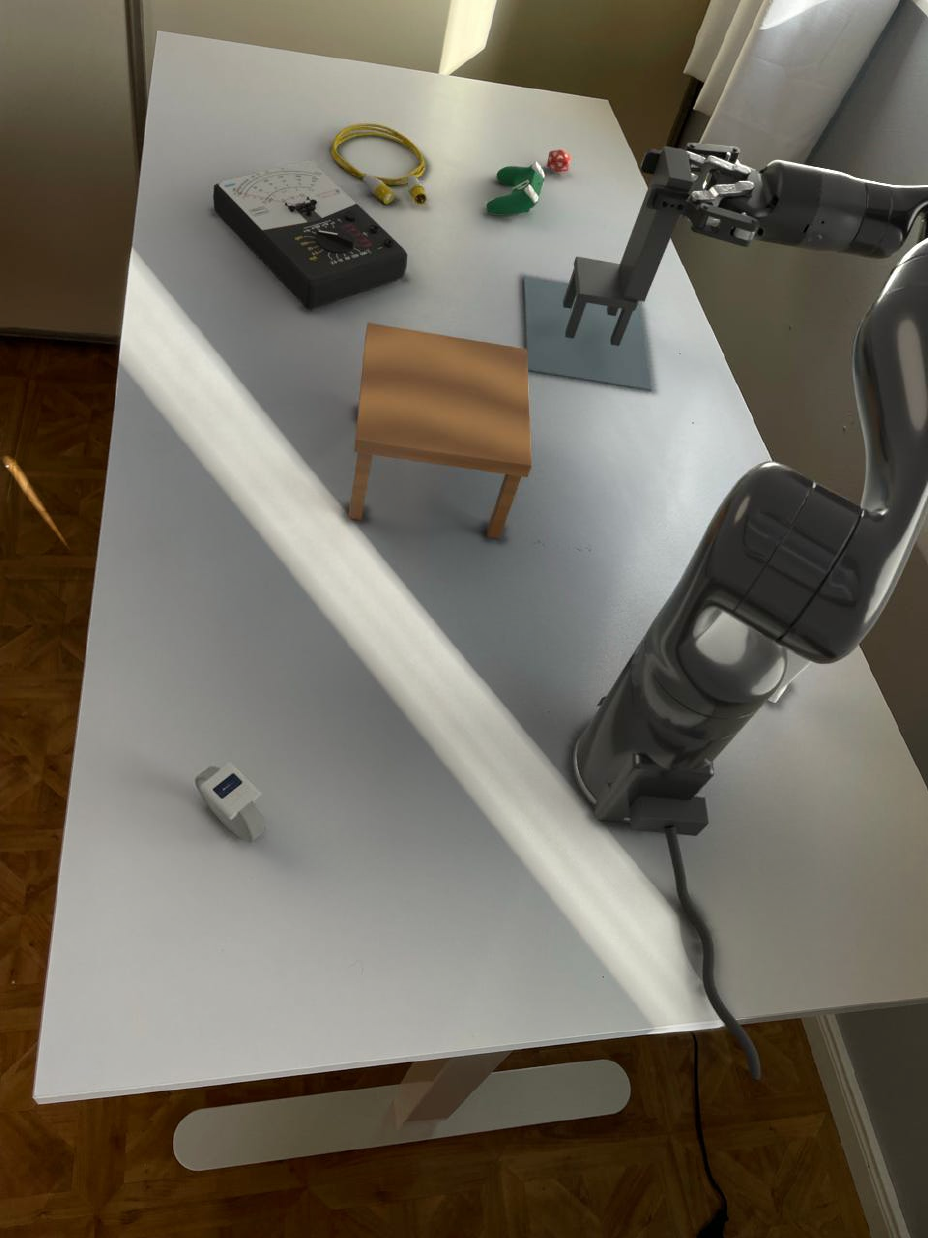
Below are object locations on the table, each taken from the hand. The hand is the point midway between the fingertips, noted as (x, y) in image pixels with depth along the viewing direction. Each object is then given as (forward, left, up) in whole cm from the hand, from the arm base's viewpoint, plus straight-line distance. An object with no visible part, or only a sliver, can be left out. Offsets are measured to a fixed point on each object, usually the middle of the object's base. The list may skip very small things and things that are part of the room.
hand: (646, 177), depth 98 cm
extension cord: (+25, +25, -19) cm, 41 cm away
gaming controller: (+23, +8, -19) cm, 31 cm away
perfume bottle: (-45, -14, -19) cm, 51 cm away
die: (+32, +2, -19) cm, 38 cm away
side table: (-25, +18, -19) cm, 36 cm away
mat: (0, 0, -19) cm, 19 cm away
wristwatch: (-62, +31, -19) cm, 72 cm away
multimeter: (+7, +32, -19) cm, 38 cm away
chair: (0, 0, -18) cm, 18 cm away
